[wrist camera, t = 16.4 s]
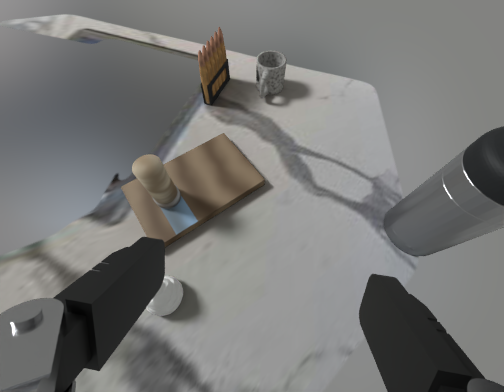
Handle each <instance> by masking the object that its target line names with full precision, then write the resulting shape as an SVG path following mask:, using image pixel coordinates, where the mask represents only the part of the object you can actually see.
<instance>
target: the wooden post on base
mask: <svg viewBox="0 0 504 392" xmlns="http://www.w3.org/2000/svg"><path fill="white" fill-rule="evenodd" d="M132 172H133V174H134V175H135V176H136V177H137V179H138V180H139V181H140V182H141V183H142V185H143V186H144V187H145V188H146V190H147V191H148V192H149V193H150V195H151V196H152V197H153V200H154V201H155V203H156V204H157V205H158V206H159V207H160V208H163V209H170V208H173V207H174V206H176V205H177V204H178V203H179V201H180V199H181V193H180V191H179V189H178V187H177V186H176V185H175V184H174V183H173V181H172V179H171V178H170V176H169V174H168V172H167V171H166V169H165V167H164V165H163V164H162V162H161V160H160V159H159V158H158V157H157V156H155V155H144V156H141V157H140V158H138V159H137V160H136V161H135V162H134V164H133V166H132Z"/></svg>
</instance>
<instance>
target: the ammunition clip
mask: <svg viewBox="0 0 504 392" xmlns="http://www.w3.org/2000/svg"><path fill="white" fill-rule="evenodd" d="M198 61H199V67H200V76H201V81H202V83H201V88H202V93H203V98H204V103H205V104H208V105H212V104H213V103H214V101H215V100H216V98H217V97H218V95H219V94H220V92H221V91H222V90H223V88H224V87H225V85H226V84H227V82H228V81H229V79H230V75H229V66H228V59H226V50H225V46H224V41H223V34H222V31H221V29H220V27H219V28H218V35H217V32H215V34H214V39H213V37H212V36H211V39H210V43H209V41H207V44H206V48H205V46H204V45H203V48H202V53H201V51H200V50H199V52H198Z"/></svg>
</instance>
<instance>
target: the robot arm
mask: <svg viewBox="0 0 504 392" xmlns="http://www.w3.org/2000/svg"><path fill="white" fill-rule="evenodd" d="M384 226H385V231H386V233H387V235H388V237H389V238H390V240H391V241H392V242H393V243H394V245H396V246H397V247H398V248H399V249H401V250H402V251H404V252H406V253H408V254H411V255H415V256H426V255H430V254H433V253H436V252H438V251H441V250H444V249H446V248H449V247H452V246H455V245H457V244H460V243H463V242H465V241H468V240H471V239H473V238H476V237H479V236H482V235H484V234H487V233H490V232H492V231H495V230H498V229H501V228H503V227H504V127H500V128H496V129H493V130H491V131H489V132H487V133H485V134H484V135H482V136H481V137H480V138H478V139H477V140H476V141H475V142H473V143H472V144H471V145H470V146H469V147H467V148H466V149H465V150H463V151H462V152H461V153H460V154H459V155H457V156H456V157H455V158H454V159H452V160H451V161H450V162H449V163H448V164H446V165H445V166H444V167H442V168H441V169H440V170H439V171H438V172H436V173H435V174H434V175H433V176H432V177H430V178H429V179H428V180H426V181H425V182H424V183H423V184H421V185H420V186H419V187H418V188H416V189H415V190H414V191H413V192H411V193H410V194H409V195H408V196H406V197H405V198H404V199H402V200H401V201H400V202H399V203H398V204H396V205H395V206H394V207H393V208H391V209H390V210H389V211H388V212H387V214H386V216H385V219H384ZM164 275H165V244H164V241H163V240H162V239H156V238H149V237H142V238H140V239H139V240H138V241H137V242H135V243H134V244H133V245H132V246H130V247H125V248H123V249H121V250H118V251H116V252H114V253H112V254H111V255H109V256H108V257H107V258H105V259H104V260H103V261H102V262H101V263H99V264H97V265H96V266H95V267H93V268H92V270H90V271H88V272H87V273H86V274H84V275H83V276H82V277H80V278H79V279H78V280H76V281H75V282H74V283H72V284H71V285H70V286H68V287H67V288H66V289H64V290H63V291H62V292H60V293H59V294H58V295H56V296H55V297H54V298H40V299H34V300H30V301H27V302H24V303H21V304H18V305H16V306H14V307H12V308H10V309H8V310H6V311H4V312H3V313H1V314H0V392H75V388H76V381H75V378H76V377H77V376H78V375H79V373H80V372H81V371H82V370H83V368H87V369H92V370H97V371H100V369H101V368H102V367H103V365H104V364H105V363H106V361H107V360H108V358H109V357H110V356H111V354H112V353H113V352H114V350H115V349H116V348H117V346H118V345H119V344H120V342H121V341H122V340H123V338H124V337H125V335H126V334H127V333H128V331H129V330H130V329H131V327H132V326H133V325H134V323H135V322H136V321H137V319H138V318H139V316H140V315H141V314H142V312H143V311H144V310H145V308H146V307H147V306H148V304H149V303H150V302H151V300H152V299H153V298H154V296H155V295H156V293H157V292H158V291H159V289H160V288H161V285H162V283H163V280H164ZM359 319H360V324H361V327H362V330H363V332H364V335H365V337H366V340H367V342H368V344H369V347H370V349H371V351H372V354H373V357H374V359H375V362H376V364H377V367H378V369H379V371H380V374H381V376H382V379H383V381H384V384H385V386H386V389H387V391H388V392H504V386H502V385H500V384H497V383H495V382H492V381H490V380H486V379H485V378H484V376H483V375H482V374H481V373H480V372H479V370H478V369H477V368H476V366H475V365H474V364H473V363H472V362H471V360H470V359H469V358H468V357H467V355H466V354H465V353H464V352H463V351H462V349H461V348H460V347H459V346H458V345H457V343H456V342H455V341H454V340H453V338H452V337H451V336H450V335H449V334H447V333H446V330H445V329H444V327H443V326H442V325H441V324H440V322H437V319H436V318H435V316H434V315H433V314H432V313H431V311H430V310H429V309H428V308H427V307H426V306H425V305H424V304H423V303H421V302H420V301H419V300H418V299H417V298H415V297H414V296H413V295H411V294H408V292H407V291H406V290H405V288H404V287H403V286H402V285H401V283H400V282H399V281H398V279H397V278H395V277H389V276H383V275H377V274H372V275H371V276H370V277H369V280H368V283H367V286H366V289H365V293H364V296H363V299H362V302H361V306H360V310H359Z"/></svg>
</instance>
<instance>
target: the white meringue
mask: <svg viewBox="0 0 504 392" xmlns="http://www.w3.org/2000/svg"><path fill="white" fill-rule="evenodd" d="M182 297H183V288H182V284H181V283H180V282H179V280H178V279H177V278H175V277H173V276H164V280H163V283H162V285H161V288H160V289H159V291H158V292H157V293H156V295H155V296H154V298H153V299H152V300H151V302H150V303H149V304H148V306H147V307H146V309H147V311H148V312H150V313H152V314H154V315H158V316H164V315H168V314H171V313H172V312H173V311H175V310H176V309H177V307H178V306H179V304H180V303H181V300H182Z"/></svg>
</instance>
